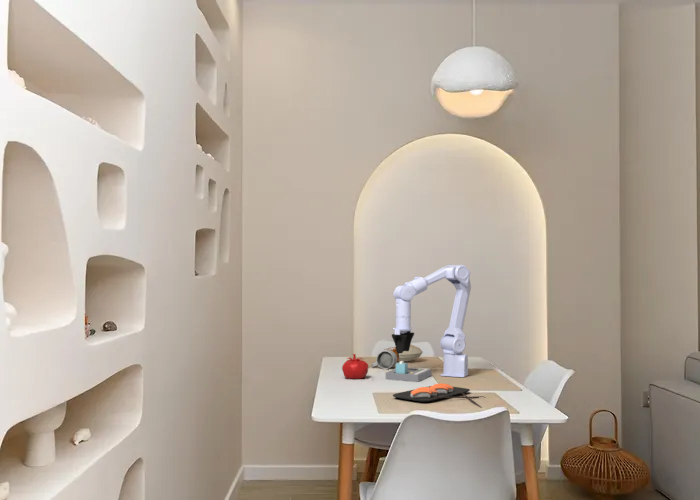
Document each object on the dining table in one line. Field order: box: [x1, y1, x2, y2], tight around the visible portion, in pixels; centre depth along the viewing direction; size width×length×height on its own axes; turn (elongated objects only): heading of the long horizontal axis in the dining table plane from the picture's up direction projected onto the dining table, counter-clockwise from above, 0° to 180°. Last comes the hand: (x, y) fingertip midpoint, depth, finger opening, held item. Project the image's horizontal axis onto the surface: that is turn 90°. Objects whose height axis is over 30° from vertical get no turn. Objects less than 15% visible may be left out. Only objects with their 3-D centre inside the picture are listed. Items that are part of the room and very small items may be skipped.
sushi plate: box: [392, 383, 485, 409], centre depth 240 cm, size 29×30×4 cm
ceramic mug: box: [370, 349, 398, 370], centre depth 311 cm, size 11×8×8 cm
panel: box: [385, 367, 432, 383], centre depth 285 cm, size 13×17×3 cm
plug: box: [395, 361, 409, 374], centre depth 281 cm, size 4×4×7 cm
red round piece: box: [341, 353, 369, 380], centre depth 282 cm, size 10×10×9 cm
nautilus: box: [384, 344, 424, 363], centre depth 332 cm, size 8×22×15 cm
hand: (402, 352), depth 282 cm, fingers open, 7 cm apart
